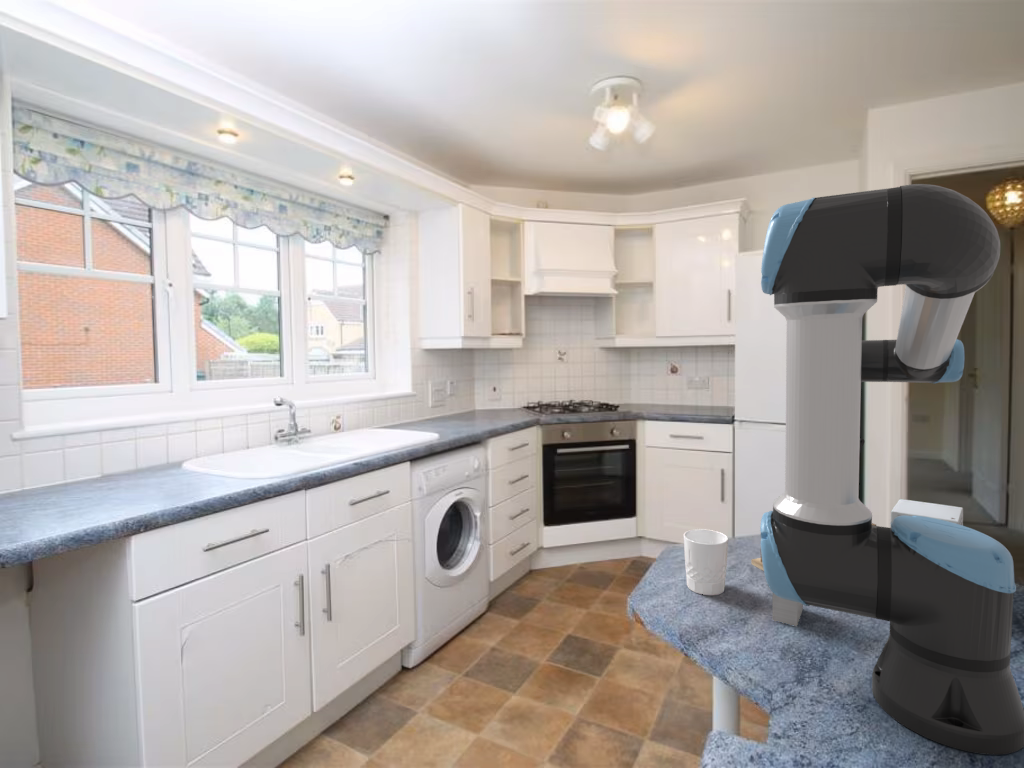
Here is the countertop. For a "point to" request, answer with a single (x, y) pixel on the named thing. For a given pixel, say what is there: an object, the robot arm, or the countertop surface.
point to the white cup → (705, 561)
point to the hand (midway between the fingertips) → (833, 519)
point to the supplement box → (927, 511)
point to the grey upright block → (786, 610)
